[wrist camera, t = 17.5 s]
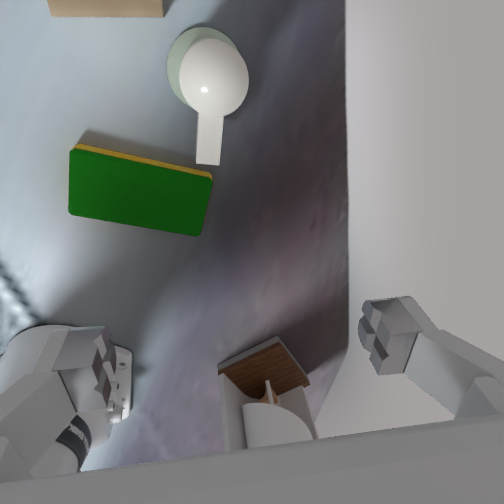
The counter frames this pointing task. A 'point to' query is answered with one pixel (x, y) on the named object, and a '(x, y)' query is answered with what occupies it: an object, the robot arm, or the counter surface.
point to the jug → (212, 91)
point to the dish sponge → (137, 190)
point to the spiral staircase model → (264, 398)
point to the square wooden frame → (106, 8)
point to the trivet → (180, 49)
